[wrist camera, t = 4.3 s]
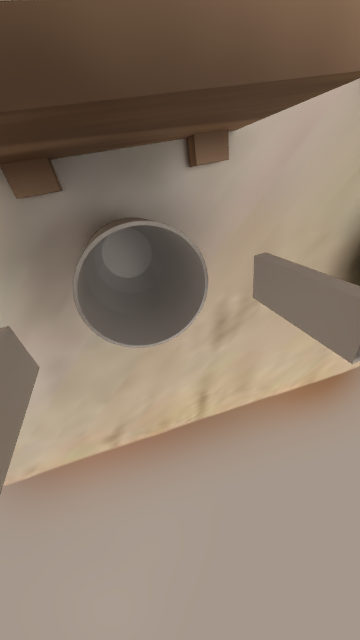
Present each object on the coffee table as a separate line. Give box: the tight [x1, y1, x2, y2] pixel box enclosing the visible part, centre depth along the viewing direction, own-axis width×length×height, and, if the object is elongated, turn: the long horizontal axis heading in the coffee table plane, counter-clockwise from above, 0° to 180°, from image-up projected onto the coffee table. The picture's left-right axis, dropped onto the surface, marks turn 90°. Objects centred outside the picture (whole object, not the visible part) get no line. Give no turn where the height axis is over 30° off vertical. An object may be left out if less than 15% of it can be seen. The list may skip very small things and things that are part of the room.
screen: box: [0, 0, 360, 198], centre depth 12 cm, size 6×20×12 cm, turn 100°
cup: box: [73, 218, 208, 348], centre depth 17 cm, size 8×8×10 cm
